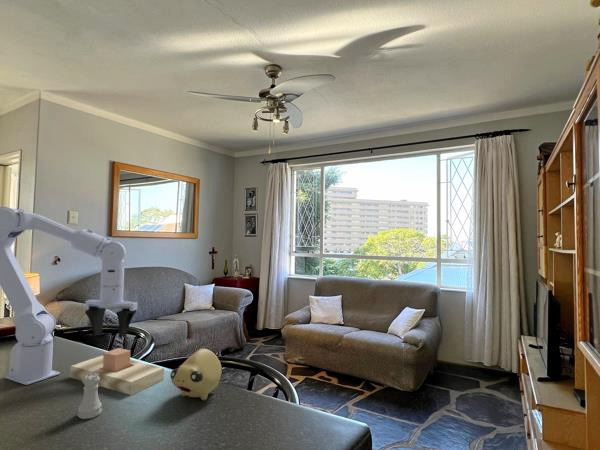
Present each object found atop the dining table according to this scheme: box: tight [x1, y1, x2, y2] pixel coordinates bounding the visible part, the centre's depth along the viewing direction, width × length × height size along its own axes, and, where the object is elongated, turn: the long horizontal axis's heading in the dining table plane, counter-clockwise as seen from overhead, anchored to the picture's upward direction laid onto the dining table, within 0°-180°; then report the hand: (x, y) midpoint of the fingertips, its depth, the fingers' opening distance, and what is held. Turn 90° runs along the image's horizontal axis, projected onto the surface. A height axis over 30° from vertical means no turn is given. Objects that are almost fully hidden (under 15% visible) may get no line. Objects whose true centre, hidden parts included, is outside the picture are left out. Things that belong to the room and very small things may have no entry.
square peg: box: [102, 347, 132, 373], centre depth 91 cm, size 4×4×7 cm
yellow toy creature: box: [170, 348, 222, 401], centre depth 82 cm, size 10×12×11 cm
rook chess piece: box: [76, 373, 103, 420], centre depth 73 cm, size 4×4×8 cm
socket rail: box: [69, 355, 165, 396], centre depth 91 cm, size 22×10×3 cm, turn 66°
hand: (110, 335), depth 97 cm, fingers open, 7 cm apart
